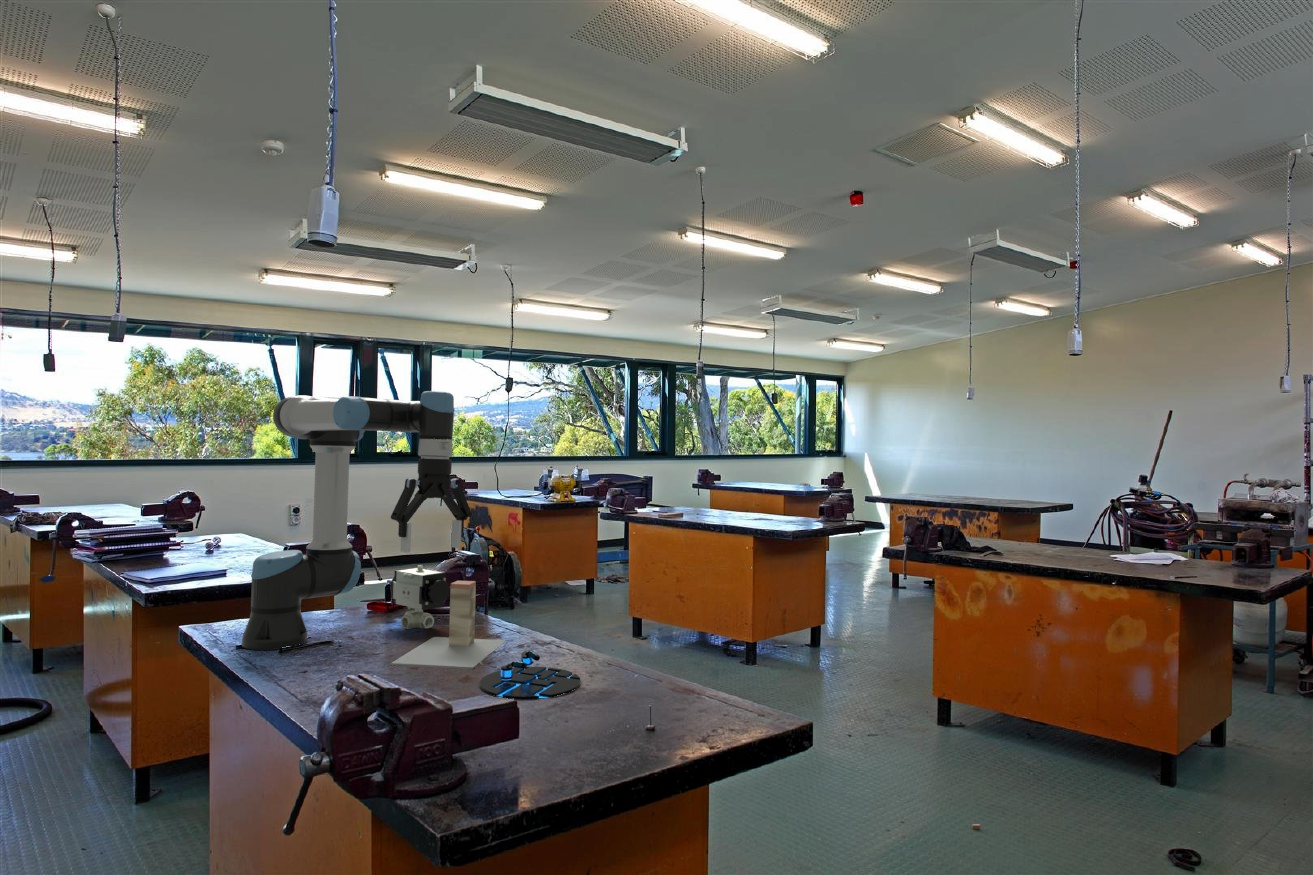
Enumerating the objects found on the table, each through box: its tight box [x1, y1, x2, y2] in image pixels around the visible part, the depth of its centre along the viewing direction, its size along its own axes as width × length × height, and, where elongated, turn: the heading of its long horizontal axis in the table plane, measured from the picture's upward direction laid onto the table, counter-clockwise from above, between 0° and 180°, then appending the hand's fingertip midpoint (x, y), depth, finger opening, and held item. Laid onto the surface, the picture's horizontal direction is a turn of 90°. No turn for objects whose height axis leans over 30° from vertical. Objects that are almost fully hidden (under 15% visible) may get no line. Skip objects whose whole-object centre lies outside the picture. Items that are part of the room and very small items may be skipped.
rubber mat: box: [390, 636, 506, 671], centre depth 191 cm, size 26×20×1 cm
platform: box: [479, 649, 582, 701], centre depth 168 cm, size 22×22×6 cm
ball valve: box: [390, 564, 450, 630], centre depth 217 cm, size 18×8×18 cm, turn 55°
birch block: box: [448, 580, 477, 647], centre depth 198 cm, size 5×5×16 cm
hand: (431, 549), depth 176 cm, fingers open, 13 cm apart
